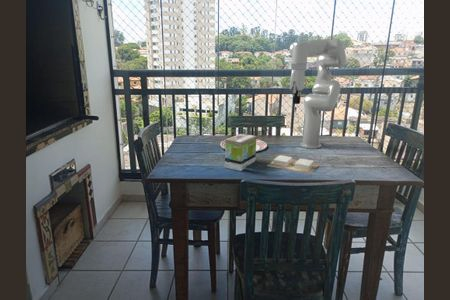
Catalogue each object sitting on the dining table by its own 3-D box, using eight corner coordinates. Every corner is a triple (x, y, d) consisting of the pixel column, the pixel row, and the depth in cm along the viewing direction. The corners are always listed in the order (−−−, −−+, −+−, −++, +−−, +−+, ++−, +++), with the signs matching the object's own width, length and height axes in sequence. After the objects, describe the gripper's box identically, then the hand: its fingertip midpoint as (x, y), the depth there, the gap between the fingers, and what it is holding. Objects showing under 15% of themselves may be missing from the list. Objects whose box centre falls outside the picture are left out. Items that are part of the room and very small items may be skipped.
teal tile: (300, 158, 162) (294, 163, 155) (313, 160, 159) (309, 165, 152) (299, 163, 163) (294, 168, 156) (313, 165, 160) (308, 170, 153)
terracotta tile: (279, 155, 167) (273, 159, 160) (292, 157, 164) (286, 162, 157) (279, 159, 168) (272, 164, 161) (292, 161, 165) (286, 166, 158)
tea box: (241, 171, 155) (242, 142, 151) (224, 168, 160) (224, 139, 156) (256, 163, 167) (256, 135, 163) (239, 159, 172) (239, 132, 168)
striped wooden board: (278, 159, 173) (278, 156, 173) (319, 165, 163) (319, 163, 162) (266, 167, 160) (266, 165, 159) (310, 176, 149) (310, 173, 149)
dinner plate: (275, 152, 184) (275, 147, 183) (231, 158, 175) (231, 152, 174) (253, 141, 209) (253, 136, 208) (214, 145, 199) (213, 140, 198)
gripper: (296, 66, 171) (294, 101, 177) (286, 67, 159) (284, 105, 164) (310, 67, 168) (307, 102, 173) (301, 68, 155) (299, 106, 161)
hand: (296, 103), depth 169 cm, fingers closed
